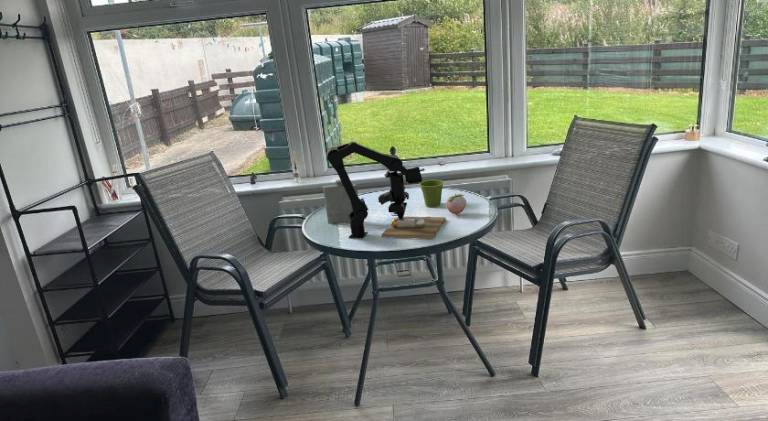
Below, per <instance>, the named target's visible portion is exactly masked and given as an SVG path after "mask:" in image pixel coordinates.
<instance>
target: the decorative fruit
mask: <svg viewBox="0 0 768 421" xmlns="http://www.w3.org/2000/svg"><path fill="white" fill-rule="evenodd" d="M454 194H455V195H452V196H450V197H448V198H447V199H446V202H445V206H446V209H447V210H448V212H450V213H451V214H453V215H456V216H458V215H459V214H462V212H463V211H464V210H465V209H466V206H467V200H466V198H465V195H464V194H462V193H459V194H457V193H454Z"/></svg>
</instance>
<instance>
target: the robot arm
mask: <svg viewBox="0 0 768 421" xmlns="http://www.w3.org/2000/svg"><path fill="white" fill-rule="evenodd" d="M352 154H357V155H360V156H361V157H365V158H367V159H369V160H371V161H374V162H377V163H379V164H381V165H382V166H384V167H385V168H386V169H388V170H387V171H386V172H385V174H384V178H385V179H389V185H390V186H389V187H390V189H389V191H386V192H384V193H382V194H380V195H378V197H377V200H378V201H377V202H378V203H380V205H381V206H382V205H384V204H386V203H388V202H389V203H390V204H389V205H388V208H387V210H388V213H396V215H397V217H398V218H399V219H403V217H405V212H406V209H407V206H408V202H405V201H406V200H409V199H410V193H409V192H408V191H405V190H406V186H405V183H407V185H412V184H413V185H414V184H420V183H421V182H423V176H422V174H421V170H420V167H419V166H413V167H409V168H407V167H406V165H404V164H403V161H402V160H401V159H400V158H399V157H398V155H394V154H389V153H383V152H379V151H377V150H375V149H373V148H370V147H367V146H364V145H362V144H359V143H358V142H356V141H349V143H345V144H342V145H339V146H337V147H335V146H331V147H330V148H328V149H327V151H326V158H327V161H328V162H329V164H330V165H331V166H332V167H333V169H334V170H335V172H336V173H337V175H338V178H339V179H340V180H341V182H342V184H343V186H344V188H345V190H346V192H347V195H348V197H349V199H350V202H351V206H352V209H353V211H352V212H351V213H350V215H349V219H350V224H349V225H350V232H351V234H350V235H349V236H348V239H364V238H365V237H366V236H367V235H368V234H369V231H365V223H364V222H365V220H366V219H367V217H368V215H369V212H368V211H369V208H368V205H367V204H366V202H365V199H364V197H361V198H360V197H359V195H358V196H357V193H356V191H355V189H354V187H353V185H352V184H353V183H352V181H351V179H350V176H349V174H348V172H347V170H346V167H345V164H344V163H345V162H344V158H347V157H349V156H350V155H352ZM389 170H390V171H389Z"/></svg>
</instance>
